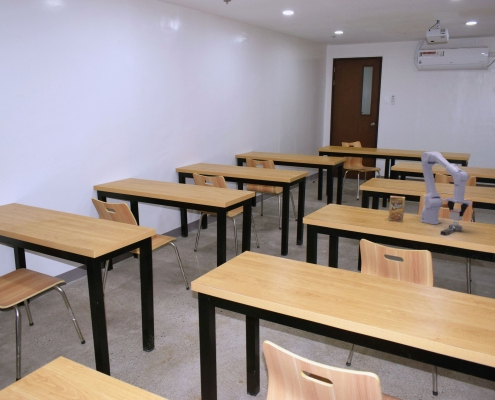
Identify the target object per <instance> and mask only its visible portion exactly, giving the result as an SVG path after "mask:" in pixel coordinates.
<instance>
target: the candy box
mask: <svg viewBox="0 0 495 400" xmlns="http://www.w3.org/2000/svg"><path fill="white" fill-rule="evenodd" d="M405 202H406V197H405V196H397V195H390V197H389V205H388V207H389V208H388V218H387V220H388V221H393V222H399V223H400V222H401V223H403V221H404V215H405Z"/></svg>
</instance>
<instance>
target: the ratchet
mask: <svg viewBox="0 0 495 400" xmlns="http://www.w3.org/2000/svg"><path fill="white" fill-rule="evenodd" d="M462 230H463V226H462V225H460V224H459V221H457V220H453V221H452V224H448V228H447V229H443V230H441V231H440V234H439V235H441V236H443V237H444V236H445V237H446V236H449V235H451V234H453V233H460V232H463V231H462Z"/></svg>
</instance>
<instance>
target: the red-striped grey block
mask: <svg viewBox="0 0 495 400" xmlns="http://www.w3.org/2000/svg"><path fill="white" fill-rule="evenodd" d="M460 214H461V208H460V209H459V208H455V207H454V209H451V210H449V220H452V221H456V222H459V221H462V220H463V219H464V218H463V217H464V215H463V216H462V217H460Z"/></svg>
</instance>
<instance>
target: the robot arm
mask: <svg viewBox="0 0 495 400" xmlns="http://www.w3.org/2000/svg"><path fill="white" fill-rule="evenodd" d="M420 159H421V168H422V174H423V178H424V184H425V189H426V195H425V196H424V199H423V200H424V202H423V203H424V204H423V205H424V207H423V208H422V210H421V216H420V222H421V223H425V224H430V225H437V224H440V223H441V221H439V216H440V215H439V214H440V210H441V207H442V206H443V205H444V202H446V204H447V206H448V209H449V210H448V211H450V210H451V209H454V208H455V204H460V210H461V214H460V217H462V216H463V217H464V214H465V212H466V210H467V209H468V207H469V206H472V205H473V204H472V203H473V201H470V200H466V199H465V193H466V187H467V186H466V185H467V181H468V180H470V179H469V178H470V174H469V173H468V172H467V171H466V170H462V169H461V168H459V167H458V166H457V164H456V163H451V162H449V161H448V160H447V159H446V158H445V157H444V156H443V154H442V153H441V152H439V151H438V150H436V151H424V152H423V153H422V154H421V157H420ZM437 163H438V164H439V165H440V166H442V167H444V168H445V172H446V173H448V174H449V175H450V176H452V180H453V184H454V185H453V196H452V197H451V198H450V197H445V198H444V200H443V199H442V197H441V194H440V193H439V192H437V191H438V190H437V187H436V182H435V177H434V172H433V167H434V166H435V165H436V164H437Z"/></svg>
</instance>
